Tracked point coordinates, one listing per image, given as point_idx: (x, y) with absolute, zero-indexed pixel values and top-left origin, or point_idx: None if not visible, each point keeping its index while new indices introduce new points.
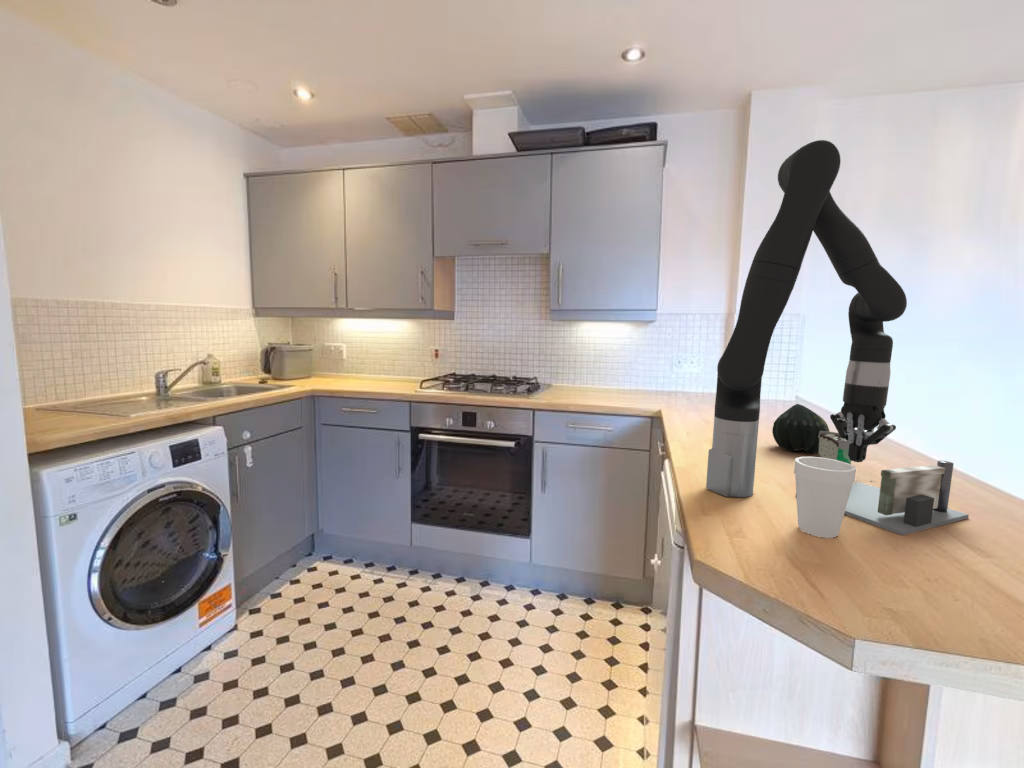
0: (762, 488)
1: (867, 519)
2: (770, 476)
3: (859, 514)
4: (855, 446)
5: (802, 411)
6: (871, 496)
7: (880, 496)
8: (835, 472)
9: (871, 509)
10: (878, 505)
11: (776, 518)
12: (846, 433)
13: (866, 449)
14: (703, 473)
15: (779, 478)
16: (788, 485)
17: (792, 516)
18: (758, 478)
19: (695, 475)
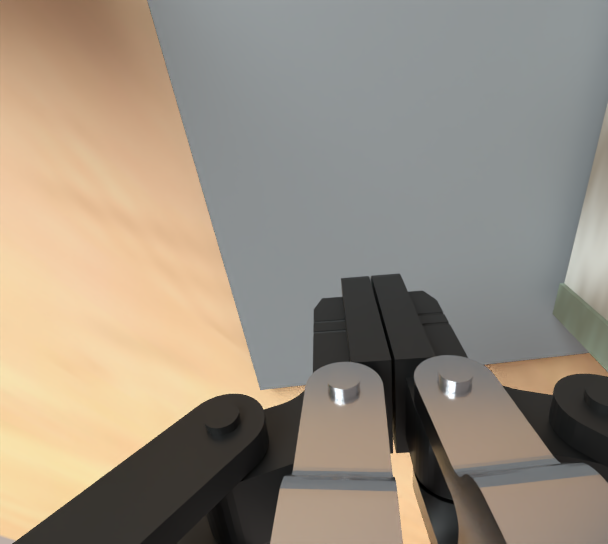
0: (167, 422)
1: (541, 355)
2: (5, 297)
3: (504, 351)
4: (401, 439)
5: None
6: (365, 92)
7: (600, 358)
8: None
9: (489, 263)
10: (569, 331)
11: (406, 534)
12: (245, 539)
13: (463, 354)
14: (5, 490)
15: (32, 279)
16: (132, 312)
17: (408, 496)
18: (43, 362)
19: (33, 519)
